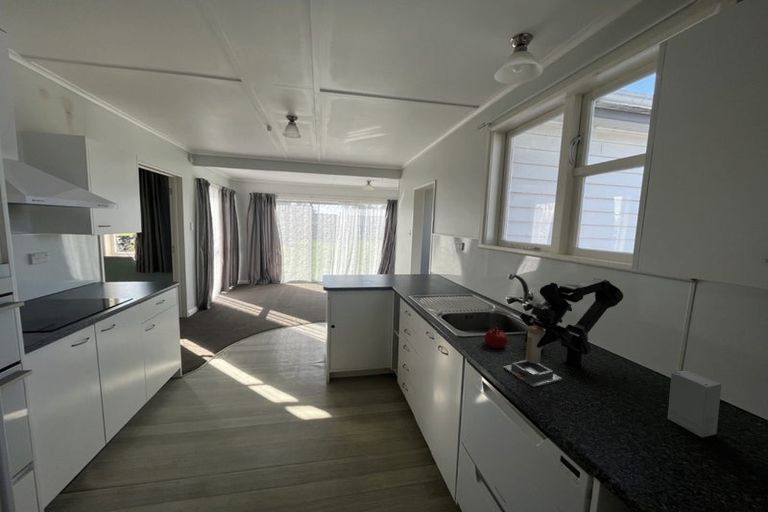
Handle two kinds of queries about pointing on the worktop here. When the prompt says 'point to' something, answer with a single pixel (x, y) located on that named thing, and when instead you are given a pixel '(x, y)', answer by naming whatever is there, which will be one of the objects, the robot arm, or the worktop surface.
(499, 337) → the pomegranate
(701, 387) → the skincare box
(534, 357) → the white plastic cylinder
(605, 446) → the worktop surface
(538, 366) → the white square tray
